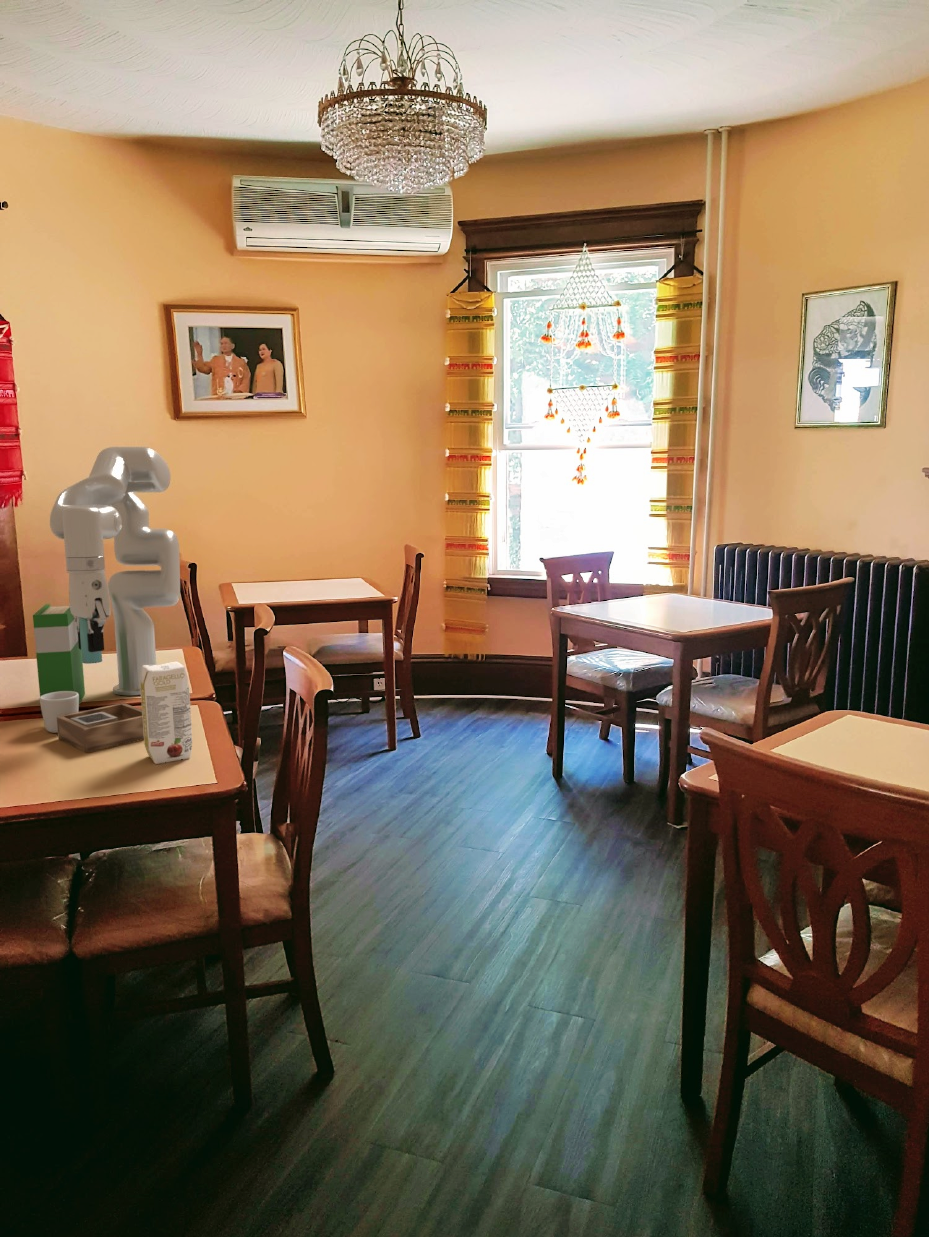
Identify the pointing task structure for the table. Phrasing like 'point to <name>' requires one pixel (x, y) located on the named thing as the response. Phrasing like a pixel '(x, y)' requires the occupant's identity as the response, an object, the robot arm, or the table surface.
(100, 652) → the plug
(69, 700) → the cup
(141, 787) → the table surface
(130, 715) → the box
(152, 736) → the juice carton
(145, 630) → the robot arm
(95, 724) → the socket
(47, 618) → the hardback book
